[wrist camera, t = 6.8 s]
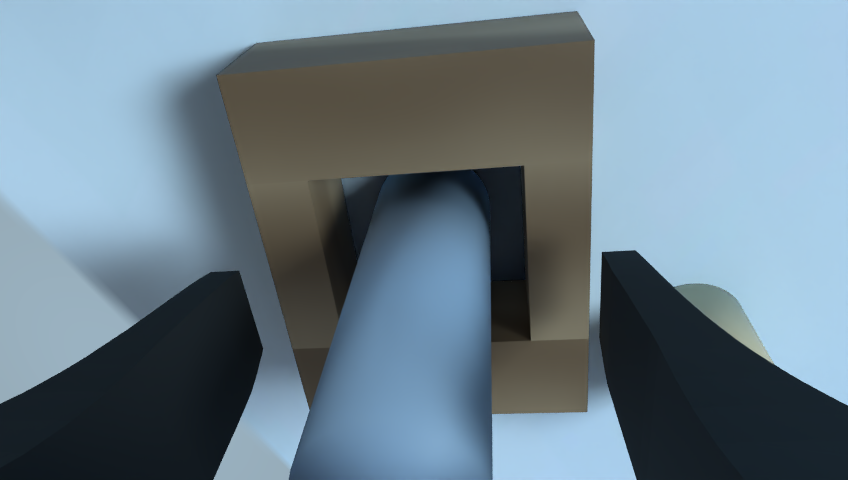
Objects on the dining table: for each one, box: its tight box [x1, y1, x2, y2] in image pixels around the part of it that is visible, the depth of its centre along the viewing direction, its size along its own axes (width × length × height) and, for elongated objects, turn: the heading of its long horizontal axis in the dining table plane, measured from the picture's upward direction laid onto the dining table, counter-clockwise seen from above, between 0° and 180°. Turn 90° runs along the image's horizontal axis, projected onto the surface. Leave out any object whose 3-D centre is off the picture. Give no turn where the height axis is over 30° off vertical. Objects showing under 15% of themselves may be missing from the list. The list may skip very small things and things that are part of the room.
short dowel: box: [674, 284, 774, 364], centre depth 16 cm, size 3×3×4 cm
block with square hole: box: [216, 11, 595, 414], centre depth 15 cm, size 9×7×2 cm
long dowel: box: [289, 169, 492, 480], centre depth 12 cm, size 3×3×8 cm
